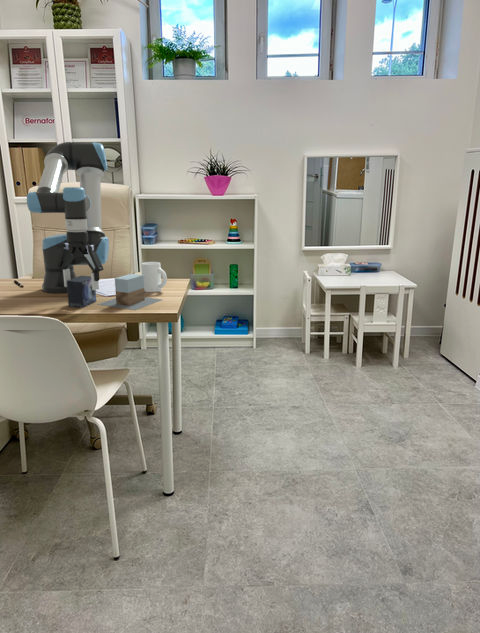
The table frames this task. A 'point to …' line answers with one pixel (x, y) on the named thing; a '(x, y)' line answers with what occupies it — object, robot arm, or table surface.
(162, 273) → the mug
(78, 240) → the robot arm
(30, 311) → the table surface
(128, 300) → the block bottom
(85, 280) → the small box
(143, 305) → the mat
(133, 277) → the block top
